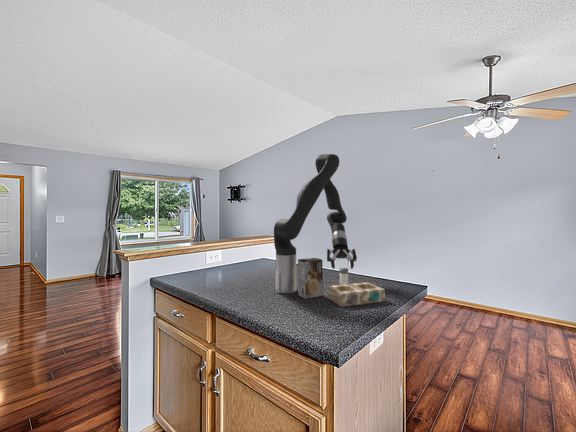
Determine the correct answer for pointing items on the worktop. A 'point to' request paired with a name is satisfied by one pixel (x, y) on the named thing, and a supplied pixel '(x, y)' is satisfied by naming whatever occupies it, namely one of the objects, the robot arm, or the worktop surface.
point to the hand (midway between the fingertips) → (342, 267)
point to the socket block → (356, 294)
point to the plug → (343, 276)
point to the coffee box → (310, 277)
